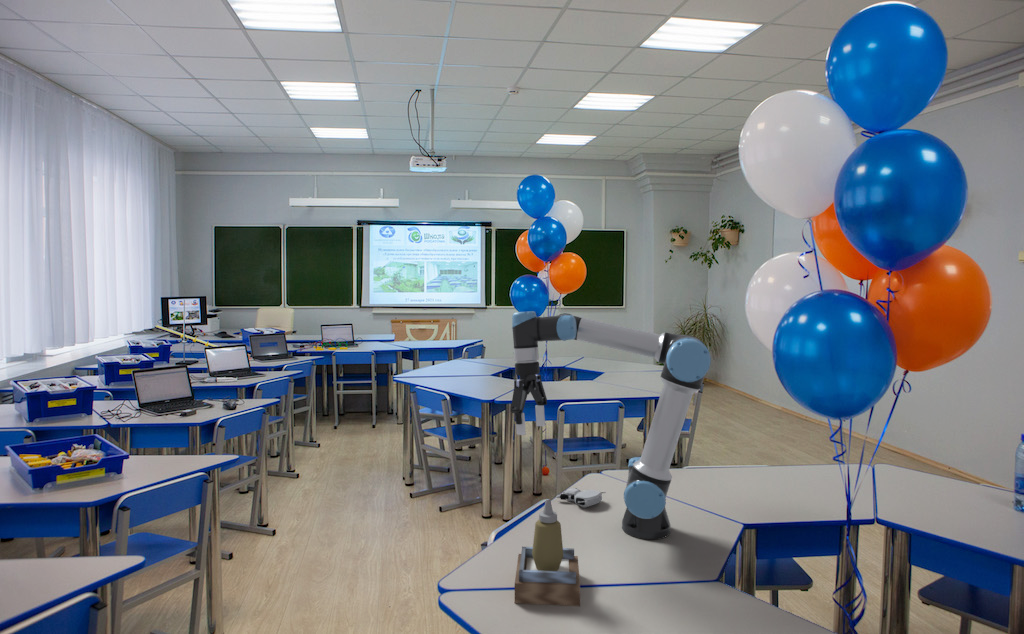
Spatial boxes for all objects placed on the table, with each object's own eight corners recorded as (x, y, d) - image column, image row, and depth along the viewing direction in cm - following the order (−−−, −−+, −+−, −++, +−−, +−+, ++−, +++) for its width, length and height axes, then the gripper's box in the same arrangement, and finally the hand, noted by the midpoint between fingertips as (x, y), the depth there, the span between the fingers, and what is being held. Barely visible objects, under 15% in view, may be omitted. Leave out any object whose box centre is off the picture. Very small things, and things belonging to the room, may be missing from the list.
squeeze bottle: (554, 578, 148) (554, 508, 147) (526, 570, 152) (526, 501, 151) (568, 565, 155) (569, 498, 154) (541, 558, 159) (542, 492, 158)
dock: (577, 574, 161) (577, 547, 160) (579, 606, 145) (580, 576, 145) (518, 571, 162) (518, 544, 162) (514, 603, 146) (514, 573, 146)
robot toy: (554, 504, 214) (588, 512, 204) (553, 492, 214) (588, 499, 204) (573, 495, 223) (608, 502, 213) (573, 483, 223) (607, 490, 213)
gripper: (533, 358, 196) (538, 422, 196) (496, 365, 174) (500, 438, 174) (554, 357, 192) (558, 422, 192) (518, 365, 170) (523, 439, 170)
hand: (531, 430), depth 183 cm, fingers open, 13 cm apart
